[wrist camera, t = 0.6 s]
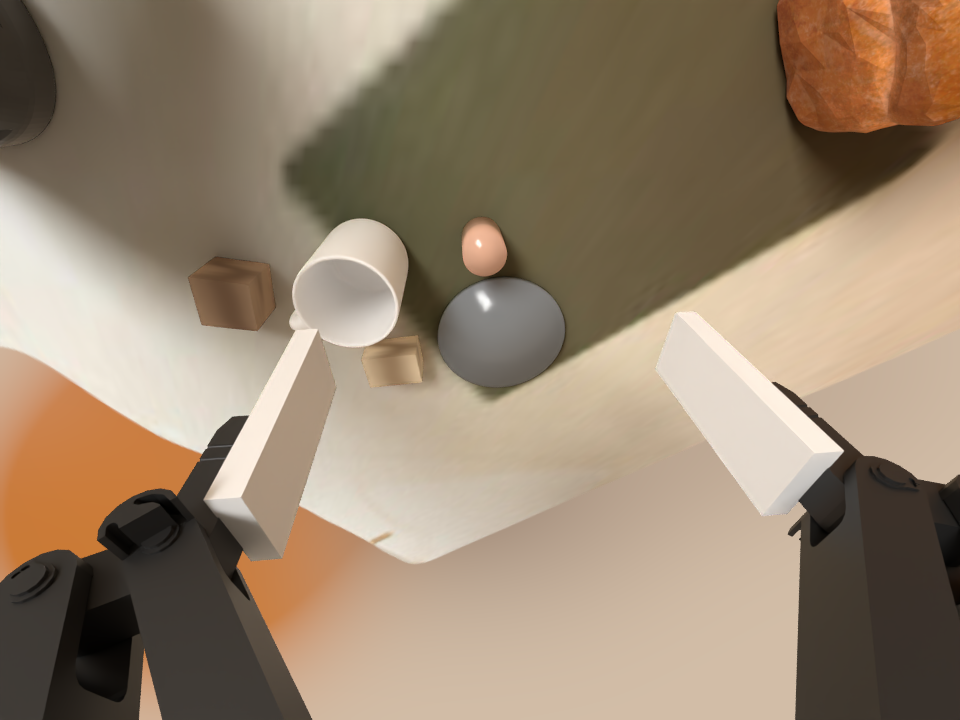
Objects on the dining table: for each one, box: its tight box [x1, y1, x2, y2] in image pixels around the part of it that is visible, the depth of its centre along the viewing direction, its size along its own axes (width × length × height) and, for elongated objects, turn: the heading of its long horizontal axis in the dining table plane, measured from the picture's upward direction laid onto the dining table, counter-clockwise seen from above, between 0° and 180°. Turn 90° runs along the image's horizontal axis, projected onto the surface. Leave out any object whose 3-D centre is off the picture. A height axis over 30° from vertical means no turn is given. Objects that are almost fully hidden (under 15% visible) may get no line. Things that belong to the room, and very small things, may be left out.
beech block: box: [361, 335, 424, 388], centre depth 44 cm, size 6×4×4 cm, turn 95°
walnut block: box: [188, 257, 276, 331], centre depth 37 cm, size 5×5×5 cm
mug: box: [289, 219, 408, 348], centre depth 35 cm, size 12×8×10 cm
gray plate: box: [438, 277, 565, 387], centre depth 45 cm, size 15×15×1 cm
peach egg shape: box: [461, 217, 507, 276], centre depth 36 cm, size 4×4×5 cm
